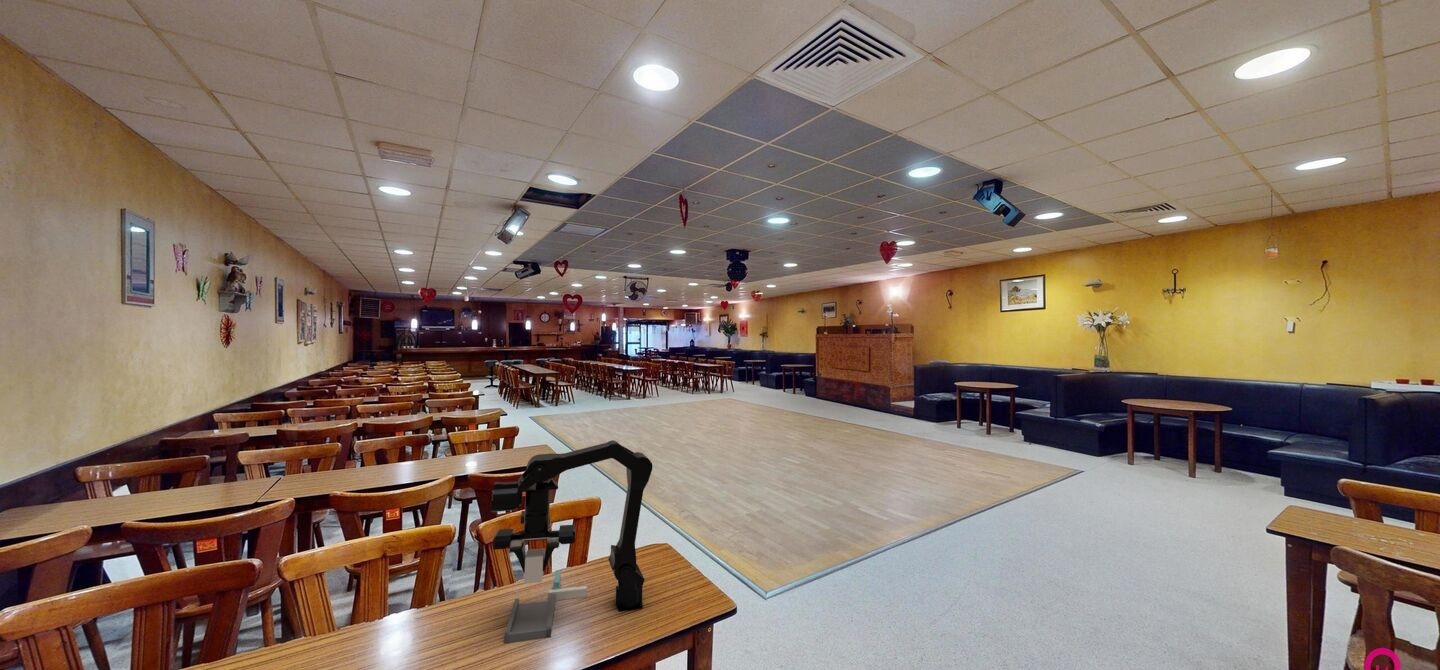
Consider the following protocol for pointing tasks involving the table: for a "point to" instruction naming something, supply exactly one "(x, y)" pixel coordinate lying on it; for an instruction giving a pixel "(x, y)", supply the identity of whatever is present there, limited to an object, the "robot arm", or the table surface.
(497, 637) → the table surface
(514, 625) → the grey base plate
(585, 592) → the gate
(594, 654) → the table surface
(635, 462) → the robot arm
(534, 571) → the block
